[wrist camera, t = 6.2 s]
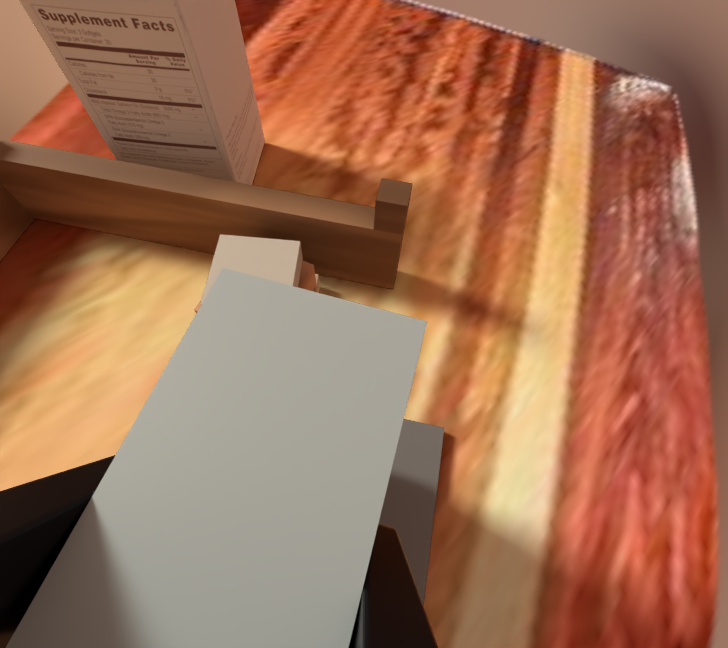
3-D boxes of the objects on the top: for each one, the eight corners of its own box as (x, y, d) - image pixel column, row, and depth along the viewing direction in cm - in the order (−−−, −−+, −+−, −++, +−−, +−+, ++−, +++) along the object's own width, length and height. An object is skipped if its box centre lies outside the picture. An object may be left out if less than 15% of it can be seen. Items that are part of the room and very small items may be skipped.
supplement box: (173, 133, 31) (75, -95, 20) (268, 142, 31) (223, -82, 20) (137, 203, 28) (-5, -27, 16) (245, 213, 27) (174, -11, 16)
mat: (412, 676, 16) (414, 681, 16) (175, 613, 17) (170, 616, 16) (441, 430, 21) (444, 427, 20) (256, 389, 22) (253, 385, 21)
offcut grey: (291, 325, 20) (288, 311, 18) (210, 319, 20) (200, 304, 18) (302, 258, 22) (300, 241, 20) (227, 252, 21) (220, 234, 20)
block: (338, 614, 15) (317, 774, 4) (238, 579, 15) (4, 650, 5) (380, 453, 18) (426, 321, 7) (294, 428, 18) (222, 267, 8)
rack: (327, 593, 17) (315, 621, 11) (-195, 460, 19) (-453, 421, 13) (397, 269, 26) (412, 183, 19) (27, 198, 27) (-66, 98, 21)
